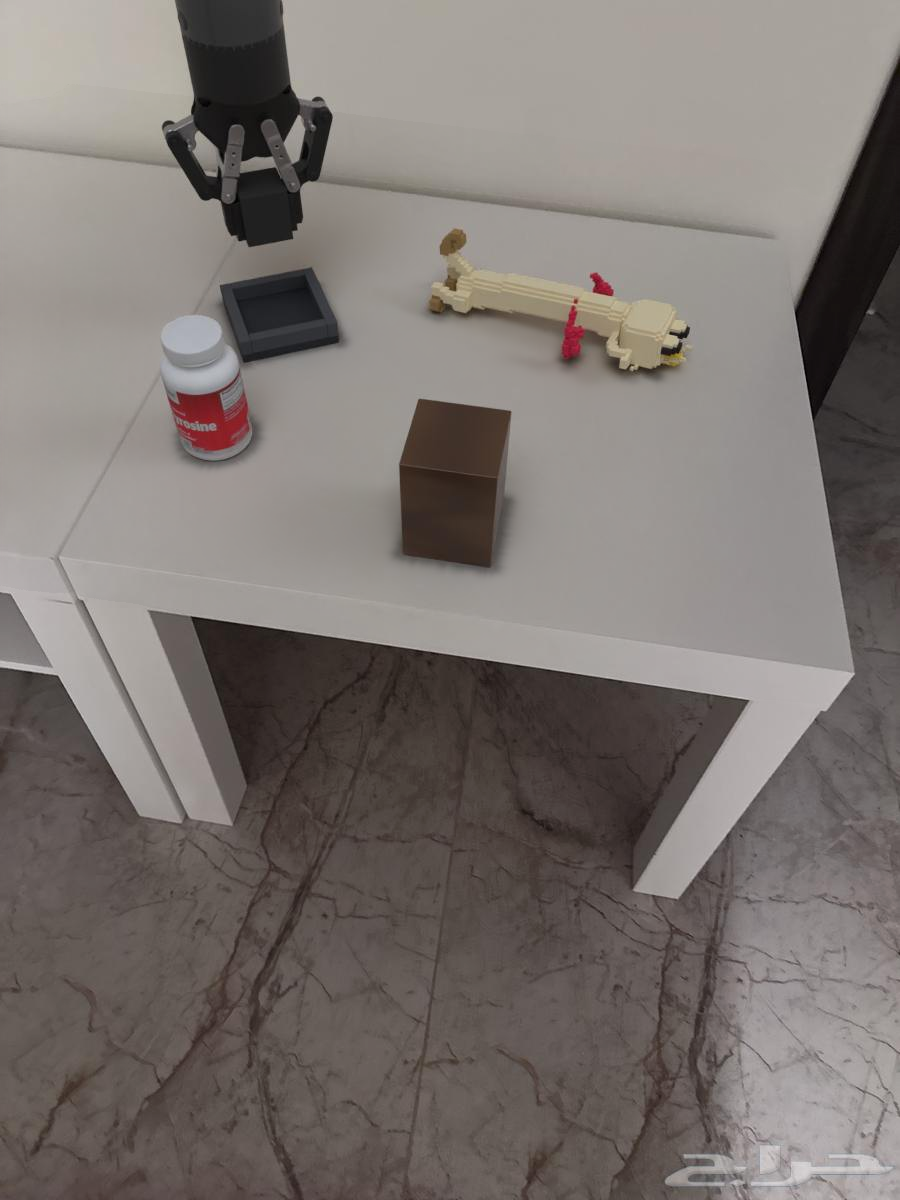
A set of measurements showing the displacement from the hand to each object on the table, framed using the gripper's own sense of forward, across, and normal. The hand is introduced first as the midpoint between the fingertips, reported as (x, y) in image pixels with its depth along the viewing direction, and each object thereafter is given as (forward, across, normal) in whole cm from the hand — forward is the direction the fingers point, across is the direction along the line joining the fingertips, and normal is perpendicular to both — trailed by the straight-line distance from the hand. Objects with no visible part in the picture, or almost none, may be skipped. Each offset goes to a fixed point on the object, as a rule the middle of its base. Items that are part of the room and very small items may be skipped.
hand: (265, 230), depth 82 cm
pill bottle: (+10, +9, +14) cm, 19 cm away
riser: (+10, -7, +30) cm, 32 cm away
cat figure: (+10, -25, +10) cm, 29 cm away
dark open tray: (+10, 0, 0) cm, 10 cm away
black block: (0, 0, 0) cm, 0 cm away
